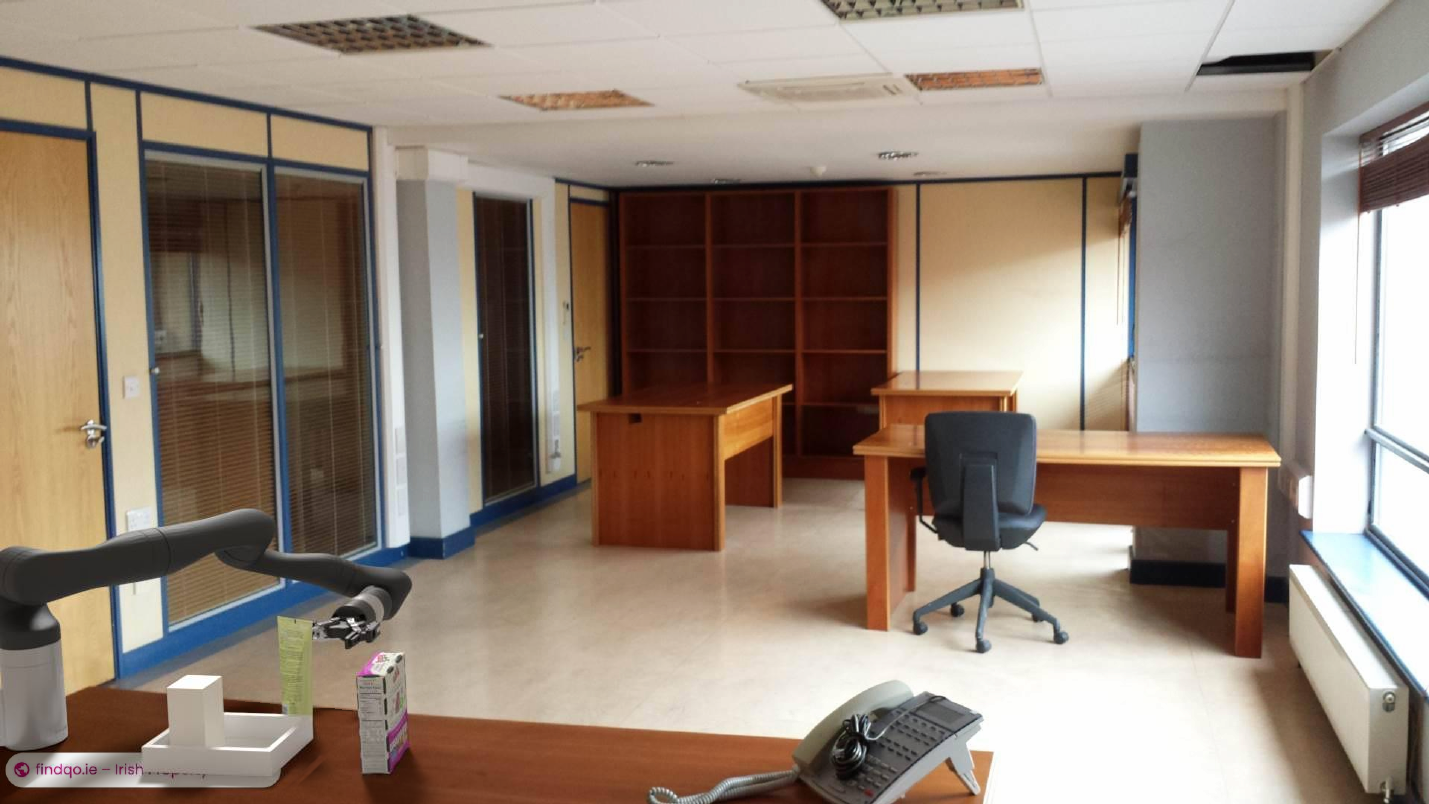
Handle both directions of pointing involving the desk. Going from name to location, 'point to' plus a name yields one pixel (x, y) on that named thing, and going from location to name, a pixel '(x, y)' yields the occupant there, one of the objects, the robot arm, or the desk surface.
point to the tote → (235, 747)
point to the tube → (296, 665)
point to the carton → (196, 711)
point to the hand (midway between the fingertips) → (323, 643)
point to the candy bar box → (382, 712)
